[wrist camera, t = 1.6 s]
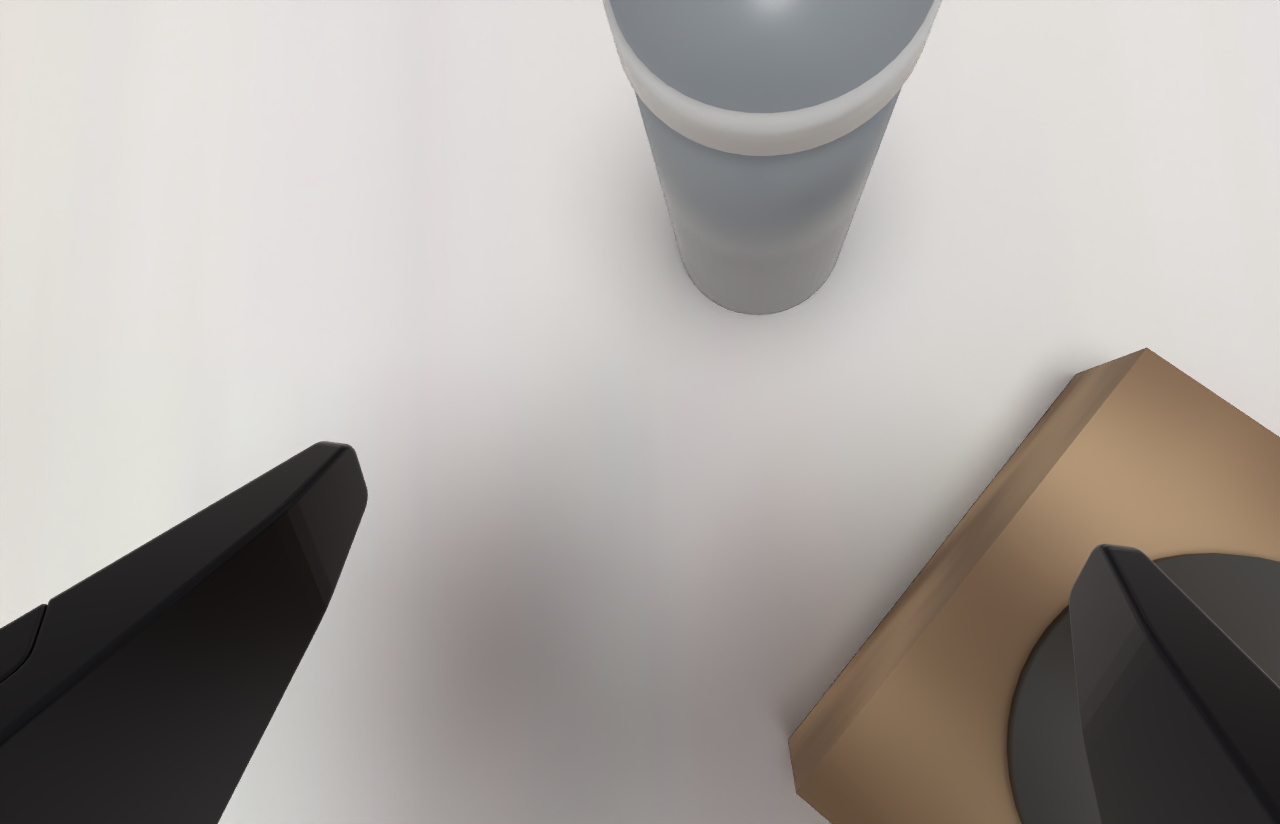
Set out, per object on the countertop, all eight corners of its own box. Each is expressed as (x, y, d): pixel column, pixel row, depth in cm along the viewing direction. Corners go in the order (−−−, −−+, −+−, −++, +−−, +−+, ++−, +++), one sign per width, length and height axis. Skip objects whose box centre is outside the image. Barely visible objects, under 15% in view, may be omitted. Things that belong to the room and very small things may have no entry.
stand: (1205, 1092, 20) (1335, 1261, 16) (788, 740, 22) (797, 801, 18) (1525, 685, 20) (1747, 739, 16) (1076, 373, 22) (1158, 343, 18)
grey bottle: (774, 351, 23) (806, 176, 11) (642, 253, 24) (524, -17, 11) (879, 217, 23) (1039, -120, 11) (744, 124, 24) (739, -292, 11)
